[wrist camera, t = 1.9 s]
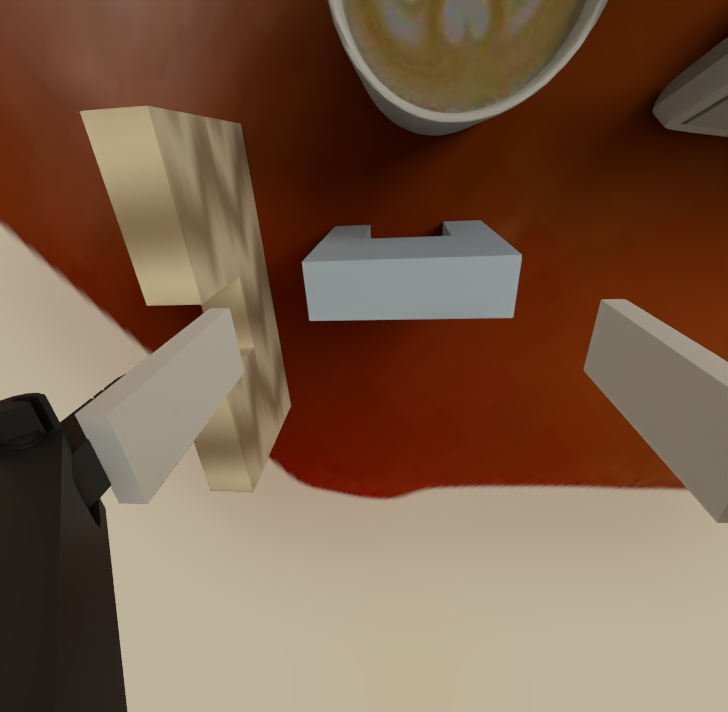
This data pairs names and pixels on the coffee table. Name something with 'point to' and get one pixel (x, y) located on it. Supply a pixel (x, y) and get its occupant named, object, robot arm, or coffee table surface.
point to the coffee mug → (458, 54)
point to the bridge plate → (412, 275)
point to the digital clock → (698, 96)
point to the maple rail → (200, 260)
